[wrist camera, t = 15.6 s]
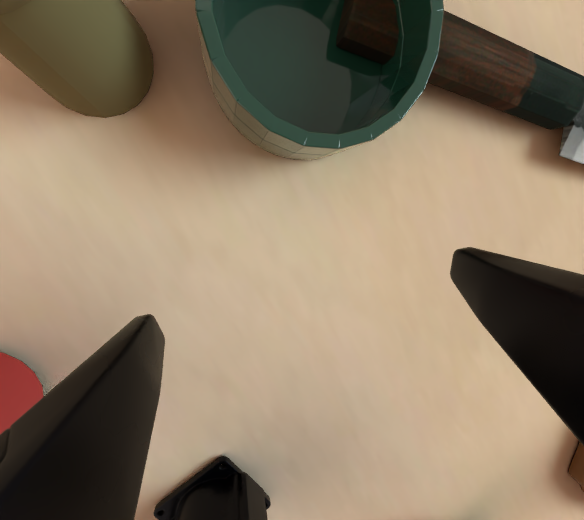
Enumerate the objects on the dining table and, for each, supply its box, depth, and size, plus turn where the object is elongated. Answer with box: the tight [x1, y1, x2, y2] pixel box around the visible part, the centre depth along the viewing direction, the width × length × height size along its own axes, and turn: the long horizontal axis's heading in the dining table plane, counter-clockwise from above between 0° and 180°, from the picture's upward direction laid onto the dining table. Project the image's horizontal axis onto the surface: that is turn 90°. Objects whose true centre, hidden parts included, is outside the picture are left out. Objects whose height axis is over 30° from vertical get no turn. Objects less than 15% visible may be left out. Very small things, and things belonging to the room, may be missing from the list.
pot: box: [195, 0, 444, 160], centre depth 15 cm, size 11×11×5 cm
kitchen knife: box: [336, 0, 584, 164], centre depth 21 cm, size 36×2×5 cm
